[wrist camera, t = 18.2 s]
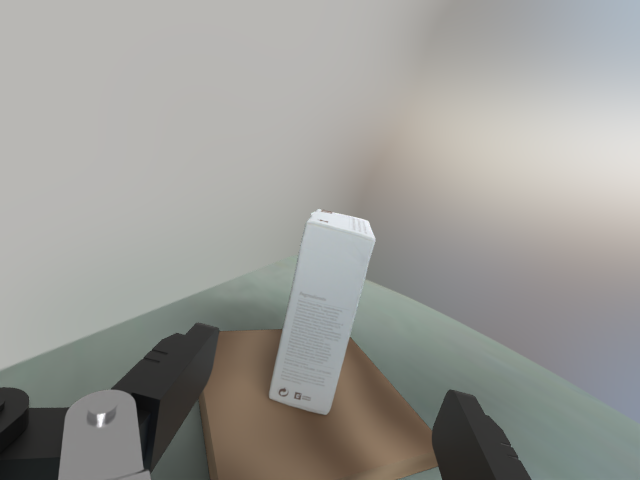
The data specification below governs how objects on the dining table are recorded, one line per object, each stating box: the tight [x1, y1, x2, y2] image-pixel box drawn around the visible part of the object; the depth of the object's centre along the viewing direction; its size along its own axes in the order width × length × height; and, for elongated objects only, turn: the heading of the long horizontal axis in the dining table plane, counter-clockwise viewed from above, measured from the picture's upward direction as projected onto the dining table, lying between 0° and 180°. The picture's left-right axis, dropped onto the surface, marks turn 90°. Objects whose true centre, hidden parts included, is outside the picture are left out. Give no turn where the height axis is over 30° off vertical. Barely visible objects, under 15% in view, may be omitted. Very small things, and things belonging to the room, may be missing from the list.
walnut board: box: [198, 329, 438, 480], centre depth 24 cm, size 14×14×2 cm
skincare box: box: [269, 209, 376, 415], centre depth 23 cm, size 6×4×12 cm
